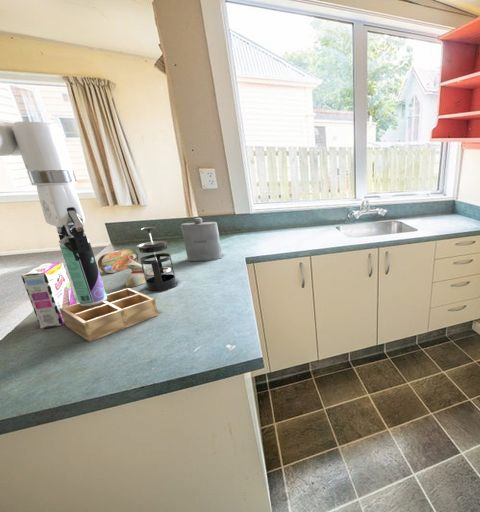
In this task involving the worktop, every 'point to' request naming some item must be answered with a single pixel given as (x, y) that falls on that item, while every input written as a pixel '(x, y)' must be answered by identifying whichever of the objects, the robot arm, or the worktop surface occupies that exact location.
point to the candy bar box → (49, 293)
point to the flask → (201, 240)
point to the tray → (109, 314)
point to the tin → (117, 260)
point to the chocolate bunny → (135, 274)
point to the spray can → (83, 274)
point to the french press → (157, 265)
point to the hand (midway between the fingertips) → (76, 249)
